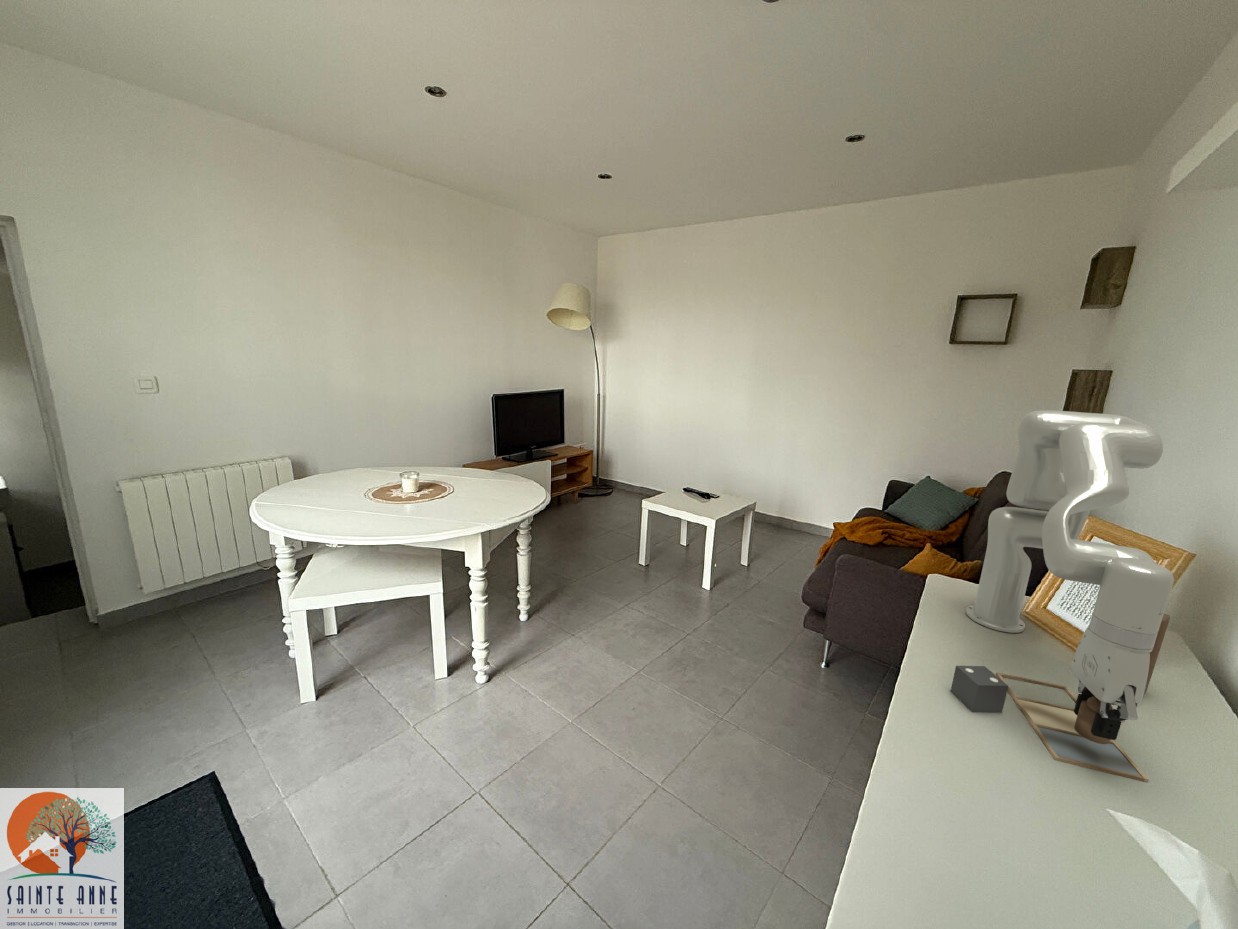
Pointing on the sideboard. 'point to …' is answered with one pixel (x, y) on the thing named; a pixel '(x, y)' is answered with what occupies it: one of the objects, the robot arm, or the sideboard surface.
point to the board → (1072, 736)
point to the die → (979, 689)
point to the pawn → (1089, 719)
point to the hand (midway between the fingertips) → (1093, 725)
